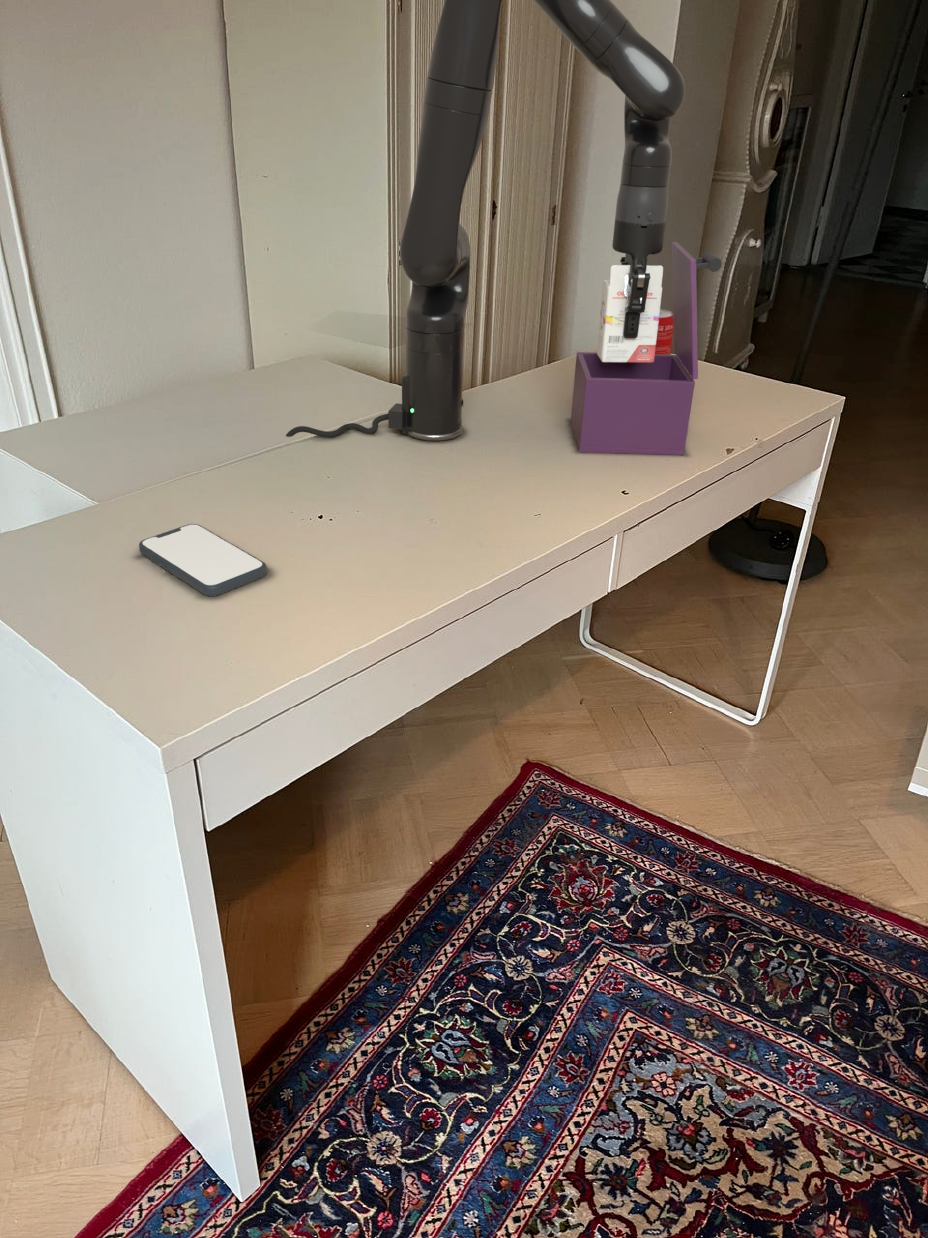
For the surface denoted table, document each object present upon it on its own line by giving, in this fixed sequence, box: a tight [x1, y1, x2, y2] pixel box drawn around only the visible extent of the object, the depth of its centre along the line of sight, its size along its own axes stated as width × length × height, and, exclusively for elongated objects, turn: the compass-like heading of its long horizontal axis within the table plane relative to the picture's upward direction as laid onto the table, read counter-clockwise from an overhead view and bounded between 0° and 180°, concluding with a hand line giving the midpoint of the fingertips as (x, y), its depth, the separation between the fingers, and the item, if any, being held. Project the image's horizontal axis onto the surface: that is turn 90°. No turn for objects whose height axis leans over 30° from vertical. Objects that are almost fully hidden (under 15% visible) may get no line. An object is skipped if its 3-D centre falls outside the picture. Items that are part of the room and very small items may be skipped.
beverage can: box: [655, 308, 674, 355], centre depth 177 cm, size 6×6×15 cm
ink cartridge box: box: [596, 264, 664, 363], centre depth 150 cm, size 9×5×15 cm, turn 92°
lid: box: [671, 241, 723, 380], centre depth 149 cm, size 18×15×6 cm
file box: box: [570, 351, 696, 456], centre depth 157 cm, size 17×15×12 cm
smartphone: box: [138, 523, 268, 597], centre depth 117 cm, size 9×2×16 cm
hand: (627, 332), depth 151 cm, fingers closed on ink cartridge box, 5 cm apart
